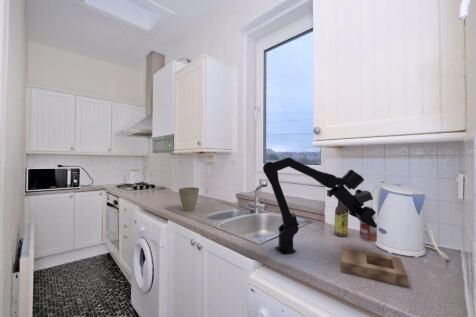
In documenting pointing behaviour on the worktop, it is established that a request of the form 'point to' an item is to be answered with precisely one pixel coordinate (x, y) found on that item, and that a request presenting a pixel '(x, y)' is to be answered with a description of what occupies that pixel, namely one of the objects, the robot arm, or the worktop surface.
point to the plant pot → (189, 197)
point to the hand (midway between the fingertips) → (371, 224)
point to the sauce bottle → (341, 221)
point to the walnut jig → (374, 266)
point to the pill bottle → (368, 232)
